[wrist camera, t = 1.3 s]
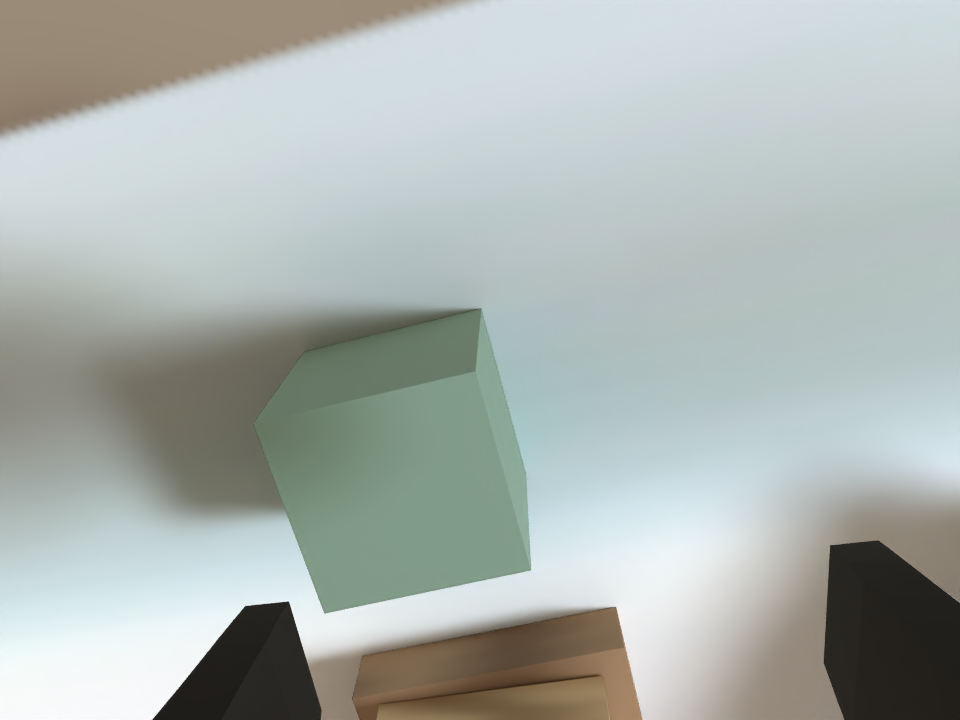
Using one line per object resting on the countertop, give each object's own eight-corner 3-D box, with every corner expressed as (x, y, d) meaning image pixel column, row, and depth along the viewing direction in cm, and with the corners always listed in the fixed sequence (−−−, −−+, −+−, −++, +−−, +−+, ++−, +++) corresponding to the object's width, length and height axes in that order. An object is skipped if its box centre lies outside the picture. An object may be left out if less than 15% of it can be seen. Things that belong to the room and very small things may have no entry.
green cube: (359, 508, 24) (324, 613, 20) (304, 351, 23) (252, 424, 18) (525, 471, 24) (531, 570, 19) (481, 307, 22) (475, 370, 18)
